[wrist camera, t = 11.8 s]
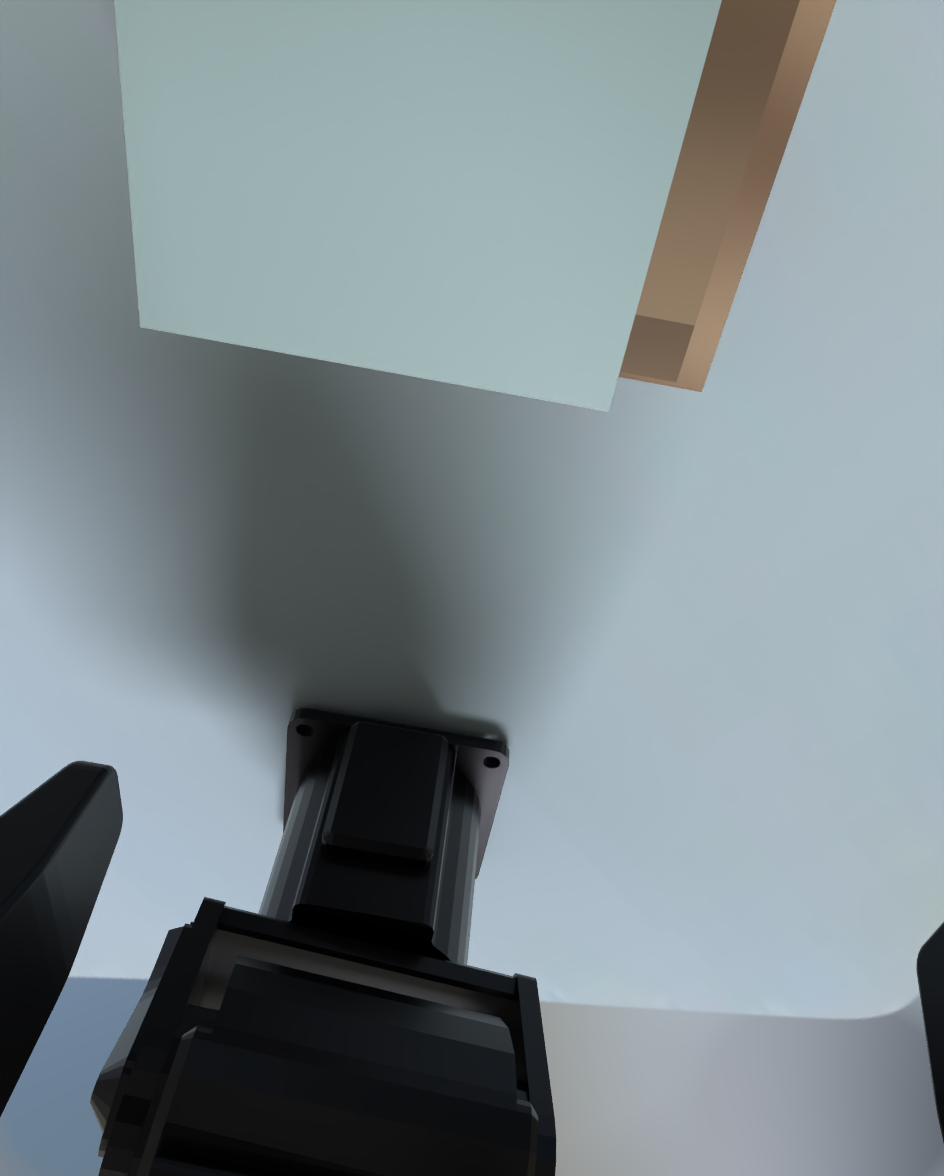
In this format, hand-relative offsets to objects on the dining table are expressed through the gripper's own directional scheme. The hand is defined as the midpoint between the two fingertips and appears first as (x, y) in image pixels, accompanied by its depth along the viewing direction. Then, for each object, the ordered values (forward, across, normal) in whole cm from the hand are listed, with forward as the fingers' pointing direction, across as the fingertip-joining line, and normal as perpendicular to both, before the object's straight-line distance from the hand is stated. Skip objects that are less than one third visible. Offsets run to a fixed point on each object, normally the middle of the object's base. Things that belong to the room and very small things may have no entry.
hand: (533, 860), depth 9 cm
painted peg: (+11, +2, -6) cm, 13 cm away
